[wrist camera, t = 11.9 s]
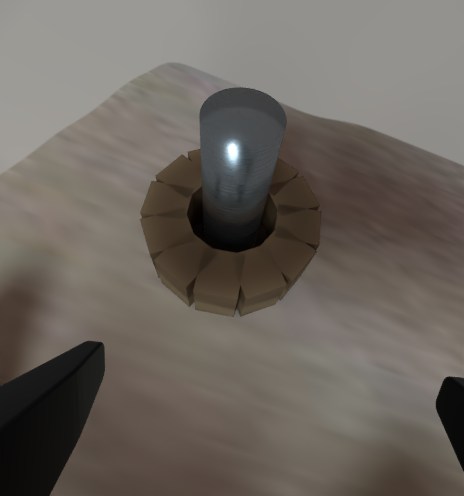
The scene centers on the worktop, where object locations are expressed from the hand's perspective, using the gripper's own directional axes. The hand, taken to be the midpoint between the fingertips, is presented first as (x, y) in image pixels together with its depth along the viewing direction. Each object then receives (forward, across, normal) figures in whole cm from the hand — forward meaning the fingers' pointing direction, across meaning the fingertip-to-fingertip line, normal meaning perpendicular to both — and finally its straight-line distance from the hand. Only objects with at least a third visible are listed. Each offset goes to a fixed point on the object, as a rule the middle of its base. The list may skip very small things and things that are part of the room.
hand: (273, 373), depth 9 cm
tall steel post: (+18, +1, +2) cm, 18 cm away
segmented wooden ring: (+18, +1, +2) cm, 18 cm away
